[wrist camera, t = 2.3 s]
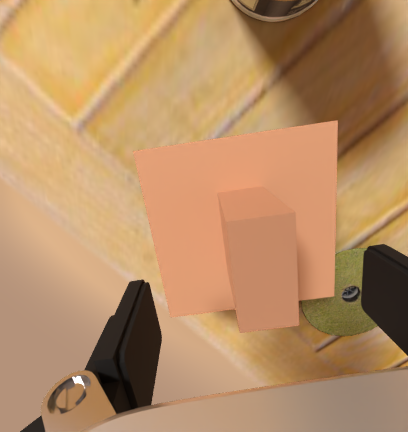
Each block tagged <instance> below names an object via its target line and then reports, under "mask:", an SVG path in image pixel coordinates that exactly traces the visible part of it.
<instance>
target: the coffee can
mask: <svg viewBox="0 0 408 432" xmlns="http://www.w3.org/2000/svg"><path fill="white" fill-rule="evenodd" d="M231 1H232V2H233V3H234V4H235V5H236V6H237V7H238V8H239V9H240V10H241V11H243V12H244V13H246V14H247V15H248V16H250V17H253V18H256V19H259V20H262V21H268V22H278V21H285V20H288V19H291V18H294V17H296V16H298V15H300V14H302V13H303V12H305V11H306V10H308V9H309V8H310V7H312V6H313V5H314V4H315V3H316V2H317V1H318V0H231Z"/></svg>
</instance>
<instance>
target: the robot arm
mask: <svg viewBox="0 0 408 432" xmlns="http://www.w3.org/2000/svg"><path fill="white" fill-rule="evenodd" d="M361 306H362V309H363V311H364V312H365V313H366V314H367V315H368V316H369V317H370V318H371V319H372V320H373V321H374V322H375V323H376V324H377V325H378V326H379V327H380V328H381V329H382V330H383V331H384V332H385V333H386V334H387V335H388V336H389V337H390V338H391V339H392V340H393V341H394V342H395V343H396V344H397V345H398V346H399V347H400V348H401V349H402V350H403V351H404V352H405V353H406V355H407V356H408V257H407V256H405V255H404V254H402V253H400V252H398V251H396V250H394V249H393V248H391V247H389V246H387V245H385V244H381V245H374V246H369V247H368V248H367V250H365V251H364V255H363V273H362V290H361ZM161 341H162V335H161V329H160V326H159V321H158V317H157V314H156V309H155V305H154V301H153V297H152V293H151V289H150V285H149V283H148V282H147V283H145V281H144V280H137V281H131V282H129V284H128V286H127V289H126V291H125V293H124V295H123V297H122V300H121V302H120V304H119V306H118V308H117V310H116V313H115V315H113V316H111V317H110V318H109V320H108V322H107V324H106V326H105V328H104V330H103V332H102V334H101V336H100V338H99V340H98V343H97V345H96V347H95V349H94V351H93V353H92V355H91V357H90V359H89V361H88V363H87V366H86V368H85V370H84V371H77V372H74V373H71V374H69V375H68V376H66V377H64V378H62V379H61V380H60V381H59V382H57V383H56V384H55V385H54V386H53V387H52V388H51V389H50V390H49V392H48V393H47V395H46V396H45V398H44V400H43V402H42V405H41V416H40V417H39V418H37V419H36V420H35V421H33V422H32V423H31V424H30V425H28V426H27V427H26V428H24V429H23V430H22V431H20V432H408V366H405V367H398V368H391V369H384V370H376V371H369V372H362V373H355V374H348V375H341V376H334V377H327V378H320V379H313V380H306V381H300V382H293V383H286V384H279V385H272V386H266V387H259V388H252V389H246V390H239V391H233V392H226V393H219V394H212V395H207V396H200V397H194V398H188V399H182V400H176V401H170V402H165V403H159V404H155V405H151V402H152V396H153V389H154V384H155V378H156V371H157V366H158V359H159V353H160V347H161Z"/></svg>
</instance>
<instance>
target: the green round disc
mask: <svg viewBox="0 0 408 432" xmlns="http://www.w3.org/2000/svg"><path fill="white" fill-rule="evenodd" d="M365 250H367V248H359V249H358V248H357V249H349V250H346V251H342V252H340V253H338V254H335V286H334V296H333V297H325V298H317V299H310V300H302V308H303V309H302V310H303V313H304V314H305V317H306V318H307V320H308V321H309V322H310V323H311V325H313V326H314V327H315V328H317V329H318V330H320V331H322V332H325V333H327V334H331V335H336V336H337V335H338V336H349V335H350V336H352V335H356V334H360V333H364V332H366V331H369V330H372V329H373V328H375V327H377V326H378V325H377V324H376V323H375V322H374V321H373V320H372V319H371V318H370V317H369V316H368V315H367V314H366V313H365V312H364V311H363V309H362V306H361V290H362V273H363V255H364V251H365Z"/></svg>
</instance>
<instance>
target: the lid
mask: <svg viewBox="0 0 408 432" xmlns="http://www.w3.org/2000/svg"><path fill="white" fill-rule="evenodd" d="M337 137H338V120H336V121H329V122H322V123H315V124H309V125H302V126H296V127H289V128H282V129H276V130H269V131H263V132H256V133H250V134H243V135H236V136H230V137H223V138H217V139H210V140H203V141H197V142H190V143H184V144H177V145H170V146H164V147H157V148H151V149H144V150H138V151H133V153H134V157H135V162H136V166H137V171H138V175H139V179H140V184H141V188H142V193H143V197H144V202H145V206H146V210H147V215H148V219H149V224H150V228H151V233H152V237H153V241H154V246H155V250H156V255H157V259H158V264H159V268H160V272H161V277H162V281H163V286H164V290H165V295H166V299H167V303H168V308H169V312H170V317H178V316H186V315H194V314H202V313H209V312H217V311H225V310H232V309H235V311H236V316H237V321H238V326H239V331H240V333H243V332H251V331H259V330H267V329H275V328H283V327H291V326H299V301H302V300H310V299H317V298H325V297H333V296H334V286H335V236H336V187H337Z"/></svg>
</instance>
